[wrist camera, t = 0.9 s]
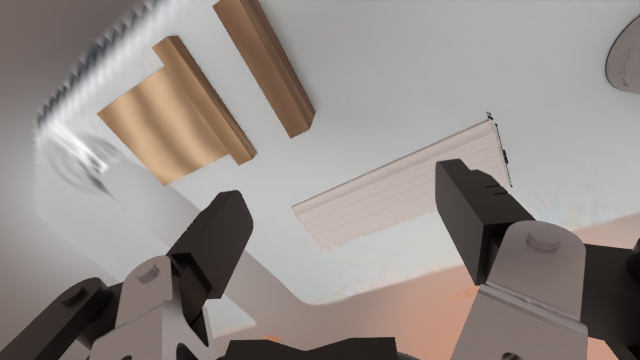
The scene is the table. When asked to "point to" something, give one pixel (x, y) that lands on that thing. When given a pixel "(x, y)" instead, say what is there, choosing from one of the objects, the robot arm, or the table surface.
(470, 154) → the baseboard molding
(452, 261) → the table surface
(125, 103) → the floor edge
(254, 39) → the plank
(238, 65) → the table surface
